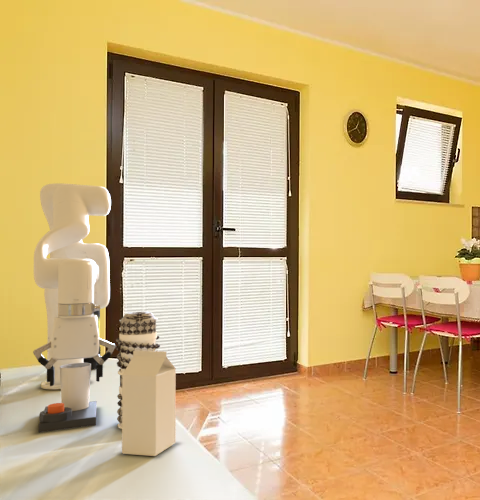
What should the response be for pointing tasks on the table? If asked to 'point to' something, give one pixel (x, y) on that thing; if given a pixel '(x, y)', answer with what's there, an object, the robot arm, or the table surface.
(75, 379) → the white cup
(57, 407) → the tare button
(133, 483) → the table surface
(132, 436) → the milk carton
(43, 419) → the scale
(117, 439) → the table surface
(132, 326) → the decorative candle
